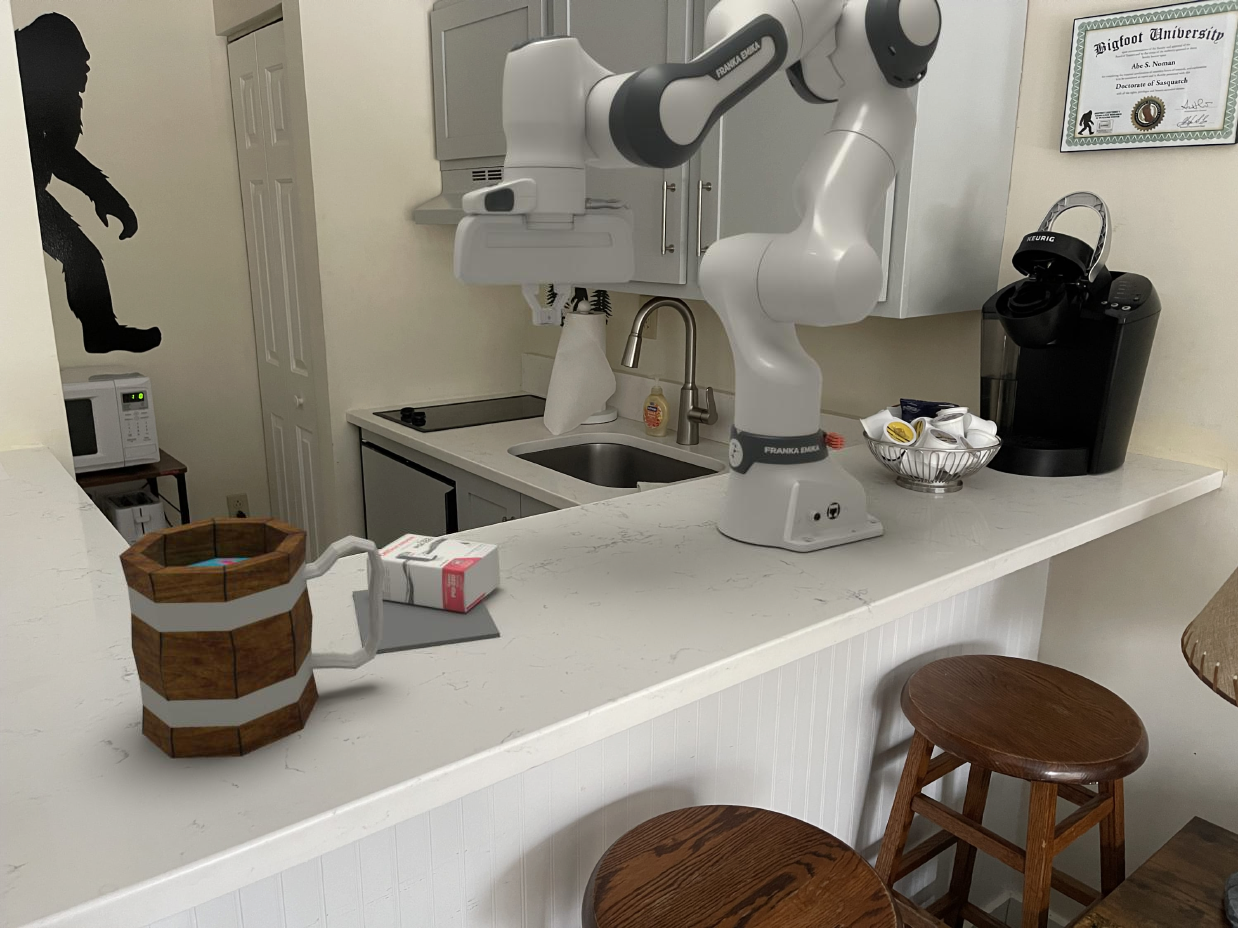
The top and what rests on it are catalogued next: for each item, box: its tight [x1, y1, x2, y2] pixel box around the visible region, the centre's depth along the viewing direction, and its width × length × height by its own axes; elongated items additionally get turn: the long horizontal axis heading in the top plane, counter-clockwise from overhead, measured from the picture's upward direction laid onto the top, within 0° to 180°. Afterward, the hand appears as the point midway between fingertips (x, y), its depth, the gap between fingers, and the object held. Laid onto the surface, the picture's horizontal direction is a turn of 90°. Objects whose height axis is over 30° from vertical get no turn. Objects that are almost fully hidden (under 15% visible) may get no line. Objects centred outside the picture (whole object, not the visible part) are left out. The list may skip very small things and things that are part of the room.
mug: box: [118, 517, 384, 759], centre depth 74 cm, size 20×14×15 cm
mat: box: [352, 589, 501, 655], centre depth 94 cm, size 13×15×1 cm
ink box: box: [366, 533, 501, 613], centre depth 98 cm, size 9×5×12 cm
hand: (546, 324), depth 102 cm, fingers closed
